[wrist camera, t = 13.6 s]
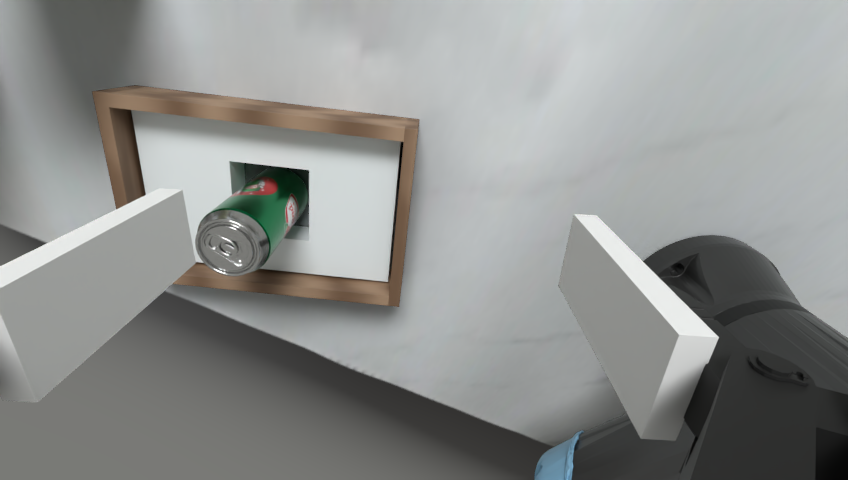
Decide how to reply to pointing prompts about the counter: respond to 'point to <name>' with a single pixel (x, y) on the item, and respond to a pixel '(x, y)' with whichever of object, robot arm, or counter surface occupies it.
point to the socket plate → (292, 148)
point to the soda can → (251, 222)
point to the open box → (124, 149)
